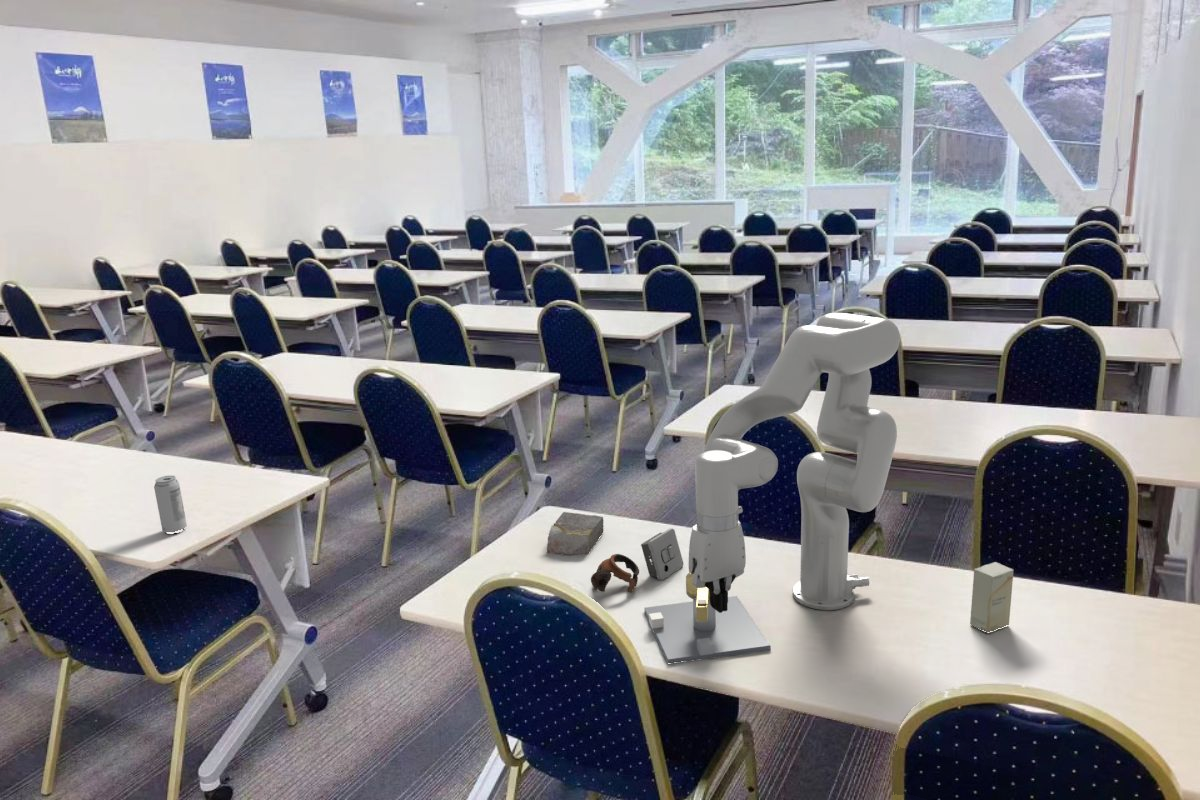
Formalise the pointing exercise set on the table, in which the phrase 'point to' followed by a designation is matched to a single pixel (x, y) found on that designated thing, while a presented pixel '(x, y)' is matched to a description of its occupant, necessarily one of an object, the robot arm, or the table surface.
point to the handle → (698, 598)
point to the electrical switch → (662, 554)
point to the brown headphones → (615, 573)
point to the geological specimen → (574, 534)
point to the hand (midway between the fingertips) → (719, 608)
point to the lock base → (705, 631)
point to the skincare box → (991, 596)
